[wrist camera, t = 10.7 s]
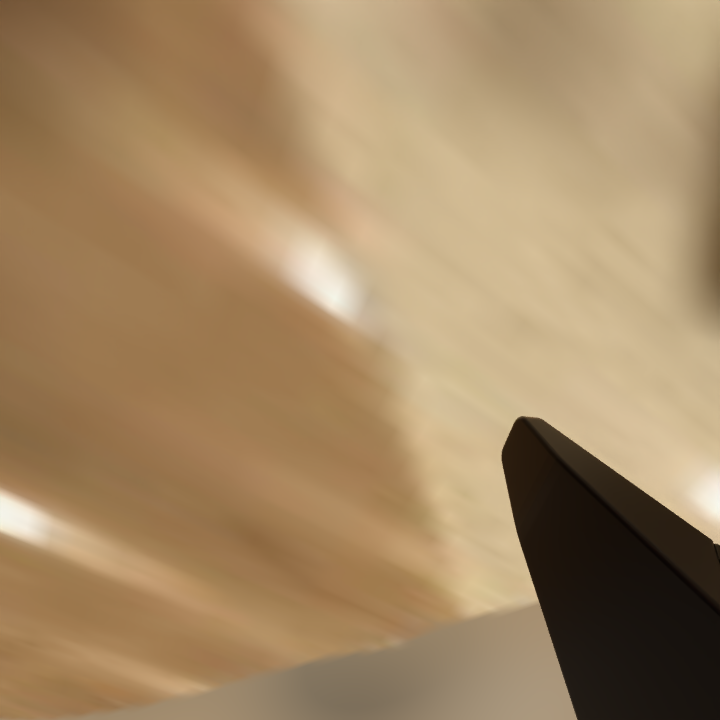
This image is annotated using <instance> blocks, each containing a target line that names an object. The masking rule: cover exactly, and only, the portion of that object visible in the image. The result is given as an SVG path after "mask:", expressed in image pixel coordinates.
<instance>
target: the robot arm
mask: <svg viewBox="0 0 720 720" xmlns="http://www.w3.org/2000/svg"><path fill="white" fill-rule="evenodd" d="M502 464H503V469H504V474H505V479H506V484H507V489H508V493H509V498H510V503H511V508H512V513H513V517H514V522H515V526H516V530H517V534H518V537H519V541H520V544H521V547H522V550H523V553H524V557H525V560H526V563H527V566H528V569H529V572H530V575H531V578H532V581H533V584H534V587H535V590H536V593H537V597H538V600H539V603H540V606H541V609H542V612H543V615H544V618H545V621H546V624H547V627H548V630H549V634H550V637H551V640H552V643H553V646H554V649H555V652H556V655H557V658H558V661H559V664H560V667H561V671H562V674H563V677H564V680H565V683H566V686H567V689H568V692H569V695H570V698H571V701H572V704H573V708H574V711H575V713H576V717H577V719H578V720H720V545H718V544H714V543H713V541H712V540H711V539H710V538H708V537H707V536H706V535H704V534H703V533H701V532H700V531H699V530H697V529H696V528H694V527H693V526H691V525H690V524H689V523H687V522H686V521H684V520H683V519H682V518H680V517H679V516H677V515H676V514H675V513H673V512H672V511H670V510H669V509H668V508H666V507H665V506H663V505H662V504H661V503H659V502H658V501H656V500H655V499H653V498H652V497H651V496H649V495H648V494H646V493H645V492H644V491H642V490H641V489H639V488H638V487H637V486H635V485H634V484H632V483H631V482H630V481H628V480H627V479H625V478H624V477H623V476H621V475H620V474H618V473H617V472H616V471H614V470H613V469H611V468H610V467H608V466H607V465H606V464H604V463H603V462H601V461H600V460H599V459H597V458H596V457H594V456H593V455H592V454H590V453H589V452H587V451H586V450H585V449H583V448H582V447H580V446H579V445H578V444H576V443H575V442H573V441H572V440H571V439H569V438H568V437H566V436H565V435H563V434H562V433H561V432H559V431H558V430H556V429H555V428H554V427H552V426H551V425H549V424H548V423H547V422H545V421H544V420H542V419H540V418H535V417H525V416H521V417H519V418H517V419H516V421H515V422H514V424H513V427H512V429H511V431H510V433H509V436H508V438H507V440H506V442H505V444H504V447H503V450H502Z"/></svg>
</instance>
